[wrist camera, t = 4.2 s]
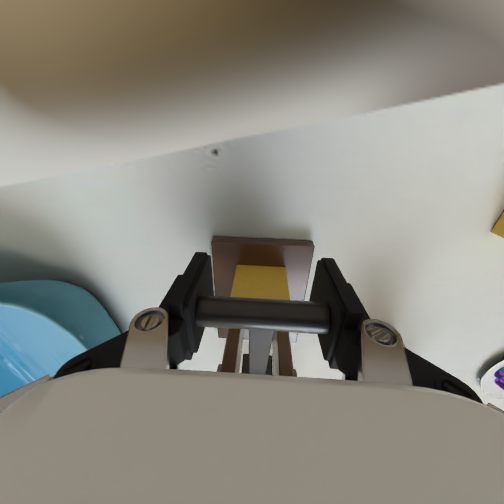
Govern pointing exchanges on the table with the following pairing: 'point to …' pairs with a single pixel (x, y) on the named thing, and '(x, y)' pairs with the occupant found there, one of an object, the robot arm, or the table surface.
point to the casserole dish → (46, 329)
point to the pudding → (494, 381)
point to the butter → (260, 282)
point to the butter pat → (499, 226)
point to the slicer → (260, 254)
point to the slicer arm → (262, 322)
